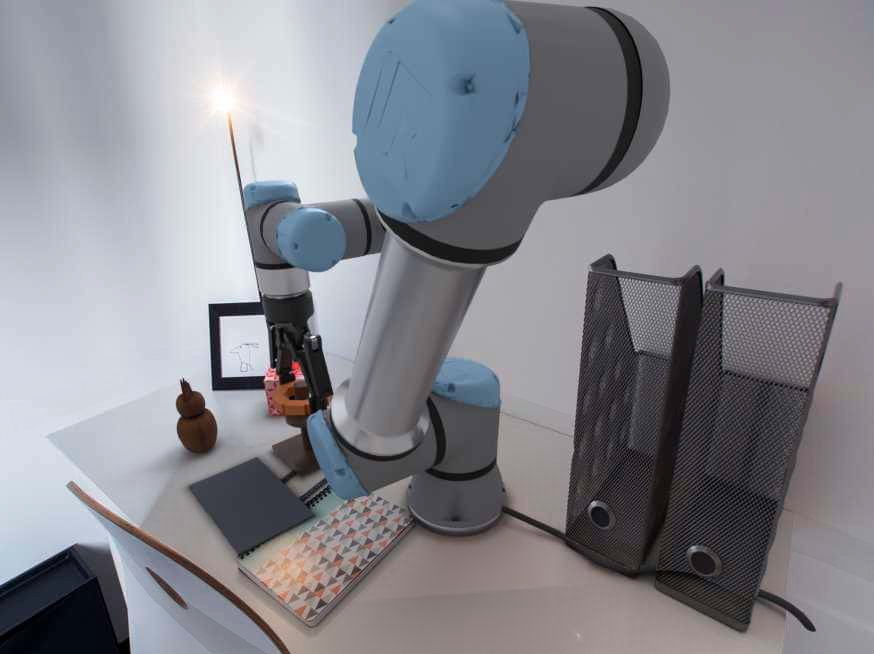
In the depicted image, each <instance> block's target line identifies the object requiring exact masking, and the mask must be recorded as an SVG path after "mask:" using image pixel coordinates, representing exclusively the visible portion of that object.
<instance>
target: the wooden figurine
mask: <svg viewBox="0 0 874 654" xmlns="http://www.w3.org/2000/svg"><path fill="white" fill-rule="evenodd" d="M179 383H180V384H179V385H180V389H181V393H180V394H178V396H177V397H176V399H175V408H176V411H177V413H178V414H179V415H180V416H179V418H178V420H177V422H176V435H177V438H178V440H179V441H180V443H181V445H182V446H183V447H184V448H185V450H187V451H188V452H189V453H191V454H195V455H201V454H205V453H207V452H208V451H210V450H212V449H213V448H214V446H215V445H216V442H217V439H218V433H219V431H218V423H217V420H216V417H215V415H214V414H213V413H212V410H210V409H209V408H207V407H206V399H205V397H204V395H203V394H202V392H200V391H197V390H193V389H192V386H191V385H190V382H188V381H187V380H185V378H184V377H182V379H179Z"/></svg>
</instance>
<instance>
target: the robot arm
mask: <svg viewBox="0 0 874 654" xmlns="http://www.w3.org/2000/svg"><path fill="white" fill-rule="evenodd" d="M665 56H666V55H665V54H664V52H663V50H662V48H661V46H660V44H659V42H658V40H657V39H656V38H655V36H654V35H652V33H651V32H650V31H649V30H648V29H647V28H646V26H644V25H643V23H641V22H640V21H638V20H637V19H635V18H634V17H633V16H632V15H628V14H627V13H624V12H621V11H619V10H616V9H614V8H609V7H602V6H601V7H600V6H590V5H589V6H580V5H579V6H577V5H569V4H568V5H567V4H558V3H547V2H536V1H535V2H533V1H524V0H522V1H521V0H414V1H412V2H409V3H408V4H406V5H405V6H404V7H402V9H401V10H400V11H398V12H396V13H394V14H393V15H392V16H391V17H390V18H388V19H387V20H386V21H385V22H384V23H383V25H382V26H381V27H380V29H379V30H378V31H377V33H376V35H375V36H374V38H373V40H372V42H371V44H370V46H369V47H368V49H367V52H366V53H365V56H364V58H363V62H362V64H361V67H360V69H359V70H360V71H359V74H358V77H357V82H356V86H355V92H354V98H353V104H352V105H353V106H352V117H351V132H352V134H354V135H355V136H356V145H355V147H354V149H353V155H354V161H355V166H356V170H357V173H358V177H359V180H360V184H361V186H362V188H363V190H364V192H365V194H366V195H367V196H366V197H364V196H363V197H357V198H348V199H340V200H338V199H337V200H331V201H330V200H329V201H321V202H314V203H302V200H301V197H300V194H299V189H298V186H297V184H296V183H295V182H294V181H291V180H283V179H282V180H281V179H279V180H278V179H277V180H276V179H273V180H262V181H254V182H250V183H248V184H246V185H245V186H244V187H243V190H242V194H243V204H244V209H243V211H244V214H245V216H246V221H247V227H248V233H249V237H250V242H251V248H252V253H253V258H254V263H255V266H254V267H255V272H256V273H255V274H256V278H257V283H258V290H259V292H260V293H261V294H262V296H261V302H262V303H261V304H262V308H263V314H264V318H265V324H266V328H267V329H266V330H267V336H268V337H267V339H268V353H269V354H268V355H269V367H270V366H271V368H272V369H276V374H277V375H278V376H279V382H280V386H281V385H283V384H286V383H289V382H292V381H295V380H296V378H295V374H294V373H290V374H289V372H291V371H294V370H295V368H294V367H293V366H292V364H293V362H294V360H296V362H298V363H299V366H300V369H301V371H302V374H303V377H304V379H305V382H306V385H307V387H308V390H309V393H310V395H311V397H309V398H307V400H308V401H309V406H310V412H311V415H310V416H309V418H308V420H307V430H308V434H309V438H310V442H311V445H312V448H313V451H314V453H315V456H316V458H317V461H318V463H319V465H320V470H321V472H322V474H323V476H324V478H325V480H326V482H327V484H328V485H329V488H331V490H332V491H333V493H334V494H335V495H336V496H337V498H339V499H341V500H343V501H353V500H356V499H359V498H362V497H368V496H370V494H371V493H373V492H375V491H378V490H381V489H384V488H385V487H387V486H390V485H393V484H395V483H398V482H400V481H403V480H405V479H408V478H409V477H412V478H411V479H410V481H409V483H408V487H407V490H406V505H407V510H408V513H409V516H410V517H411V518H412V519H413V520H414V521H415V523H416V524H417V525H419V526H420V527H421V528H423V529H425V530H427V531H429V532H432V533H434V534H436V535H441V536H445V537H455V538H463V537H471V536H476V535H479V534H482V533H485V532H487V531H489V530H491V529H493V528H494V527H496V526H497V524H499V523H500V522H501V521H502V520H503V518H504V516H505V514H506V515H508V516H510V517H513V518H514V519H517V520H519V521H521V522H524V523H526V524H527V525H530V526H532V527H535V528H536V529H539V530H541V531H543V532H546V533H548V534H549V535H552V536H554V537H556V538H558V539H560V540H561V541H563V542H565V543H566V544H568V545H569V546H570V547H572V548H574V549H575V550H576V551H577V552H579V553H580V554H581V555H582V556H583V557H585V558H586V559H588V560H589V561H590V562H592V563H593V564H595V565H597V566H599V567H601V568H603V569H606V570H609V571H612V572H615V573H616V572H617V573H621V574H643V573H651V572H657V571H656V569H657V567H656V566H657V563H658V562H657V563H647V564H640V565H641V567H640V569H637V570H628V569H626V568H625V567H623V566H621V565H622V564H618V563H614V562H612V561H611V562H610V561H607V560H605V559H603V558H601V557H599V556H597V555H596V554H594V553H593V552H592V551H590V550H588V549H587V548H586V547H584V546H583V545H582V544H581V542H578V541H577V540H575V539H574V538H573V537H571V538H572V539H574V540H575V541H576V542H577V543H579V544H580V545H578V544H576V543H574V542H573V541H571V540H569V539H567V538H566V535H567V534H566V533H564V531H560V530H559V529H557V528H554V527H553V526H551V525H548V524H546V523H544V522H542V521H539V520H537V519H535V518H532V517H530V516H529V515H526V514H524V513H521V512H519V511H517V510H515V509H513V508H510V507H508V506H507V503H508V502H507V501H508V493H507V489H506V485H505V483H504V481H503V477H502V473H501V471H500V467H499V464H498V445H499V444H498V443H499V442H498V441H499V430H500V414H501V405H502V399H501V382H500V379H499V376H498V375H497V374H496V373H495V371H494V370H492V369H491V368H490V367H488V366H486V365H485V364H482V363H480V362H477V361H475V360H472V359H466V358H462V357H452V356H448V354H449V352H450V350H451V348H452V346H453V344H454V341H455V338H456V337H457V335H458V333H459V330H460V329H461V326H462V324H463V321H464V319H465V317H466V315H467V313H468V311H469V308H470V307H471V305H472V302H473V300H474V298H475V296H476V293H477V291H478V290H479V286H480V285H481V282H482V280H483V278H484V276H485V274H486V271H487V269H488V267H492V266H496V265H499V264H501V263H503V262H506V261H507V260H508V259H510V258H511V257H513V256H514V255H515V254H516V252H517V251H518V249H519V248H520V246H521V244H522V242H523V240H524V238H525V236H526V234H527V232H528V231H529V229H530V226H531V224H532V222H533V220H534V218H535V216H536V214H537V212H538V211H539V208H540V207H541V206H542V205H543V204H544V203H546V202H549V201H556V200H562V199H566V198H573V197H579V196H583V195H584V196H585V195H587V194H591V193H592V194H593V193H595V192H599V191H603V190H605V189H608V188H610V187H612V186H614V185H616V184H618V183H619V182H621V181H623V180H624V179H626V178H627V177H628V176H630V175H631V174H632V173H633V172H635V171H636V170H637V169H638V168H639V167H640V166H641V165H642V164H643V163H644V162H645V160H646V159H647V157H648V156H649V155H650V153H651V152H652V151H653V149H654V148H655V146H656V144H657V143H658V140H659V138H660V136H661V135H662V133H663V130H664V127H665V124H666V120H667V117H668V114H669V108H670V101H671V80H670V79H671V78H670V77H671V76H670V70H669V67H668V64H667V59H666V57H665ZM377 254H380V256H379V259H378V264H377V269H376V272H375V275H374V279H373V280H374V281H373V285H372V289H371V293H370V297H369V300H368V305H367V310H366V314H365V317H364V322H363V326H362V331H361V334H360V339H359V343H358V347H357V352H356V354H355V359H354V363H353V368H352V372H351V376H350V377H348V378H346V379H345V380H344V381H343V382H341V383H340V385H338V387H337V388H336V390H335V391H334V389H333V385H332V381H331V378H330V374H329V370H328V366H327V362H326V358H325V354H324V350H323V338H322V336H321V334H319V333H318V334H315V335H314V334H312V333H311V330H310V327H309V324H308V321H309V319H310V318H311V317H312V316H313V315H314V314H315V305H314V298H313V292H312V291H311V289H310V288H311V286H312V285H311V278H310V273H325V272H327V271H329V270H331V269H332V268H334V267H335V266H336V265H337V264H338V263H340V262H341V261H345V260H350V259H355V258H356V259H357V258H361V257H365V256H370V255H371V256H372V255H377ZM332 395H333V398H332V400H331V402H330V407H329V408H328V406H327V402H326V398H327V397H330V396H332ZM288 399H289V400H296V398H295V395H294V396H291V397H289V398H288ZM565 534H566V535H565ZM756 597H757V598H760V599H763V600H766V601H768V602H771V603H772V604H775V605H777V606H778V607H781V608H782V609H784V610H785V611H787V612H788V613H789V614H791V615H792V616H793V617H795V618H796V619H797V621H798V622H800V624H801V625H802V626H803V627H804V628H805V629H806V630H807V631H809V632H811V633H815V632H817V629H816V627H815V625H814V623H813V621H811V619H810V618H809V617H808V616H807V615H806V614H805V613H804V612H803V611H801V610H800V608H798V607H796V606H795V605H794V604H792V603H791V602H789V601H788V600H787V599H784V598H782V597H780V596H779V595H776V594H774V593H771V592H769V591H766V590H764V589H761V588H759V592H758V595H757V596H756Z"/></svg>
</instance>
